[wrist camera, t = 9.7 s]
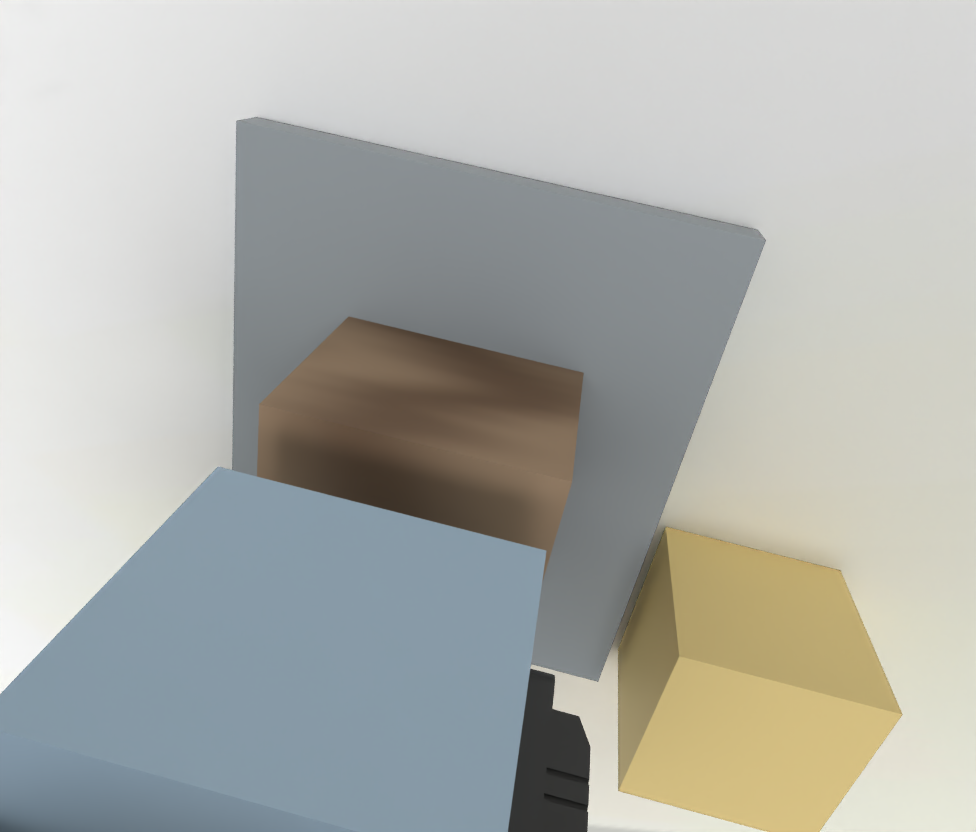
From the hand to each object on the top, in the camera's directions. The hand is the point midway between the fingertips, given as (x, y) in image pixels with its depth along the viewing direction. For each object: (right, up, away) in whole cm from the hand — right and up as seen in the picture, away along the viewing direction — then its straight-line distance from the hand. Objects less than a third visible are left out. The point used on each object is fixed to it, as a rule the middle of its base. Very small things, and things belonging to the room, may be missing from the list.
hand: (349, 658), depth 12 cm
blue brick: (0, 0, 0) cm, 1 cm away
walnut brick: (+1, +3, +7) cm, 8 cm away
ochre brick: (+9, -2, +9) cm, 13 cm away
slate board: (+1, +4, +8) cm, 9 cm away
